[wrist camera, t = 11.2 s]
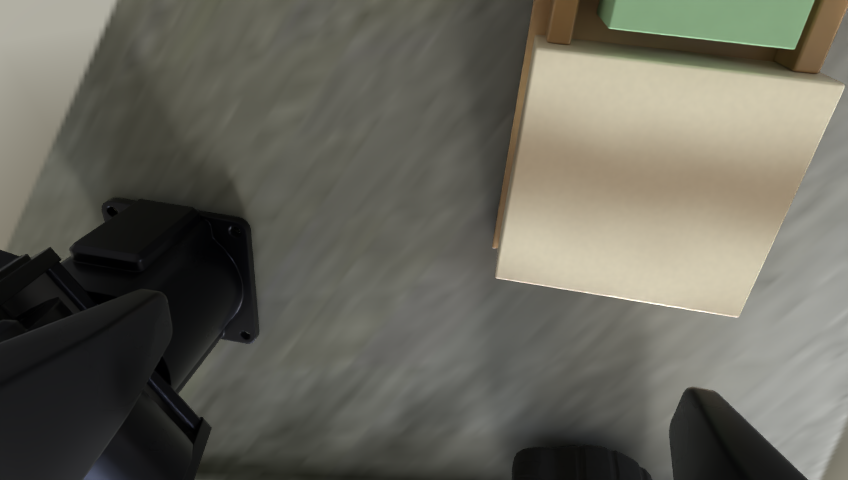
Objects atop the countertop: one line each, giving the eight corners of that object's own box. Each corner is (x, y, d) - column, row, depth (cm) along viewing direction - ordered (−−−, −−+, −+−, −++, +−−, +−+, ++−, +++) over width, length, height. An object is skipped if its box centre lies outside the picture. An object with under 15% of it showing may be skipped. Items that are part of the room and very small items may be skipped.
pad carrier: (715, 273, 21) (743, 324, 18) (493, 238, 22) (487, 282, 19) (952, -301, 13) (1067, -366, 10) (587, -319, 14) (601, -382, 11)
